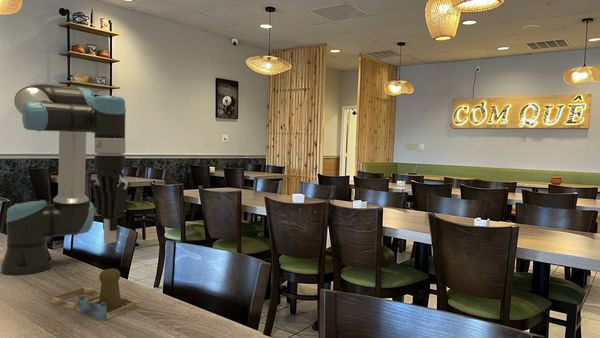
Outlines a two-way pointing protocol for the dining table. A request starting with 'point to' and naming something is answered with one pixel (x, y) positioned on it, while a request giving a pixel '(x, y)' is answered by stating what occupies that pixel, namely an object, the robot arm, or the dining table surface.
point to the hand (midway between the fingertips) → (110, 242)
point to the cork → (110, 289)
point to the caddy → (92, 304)
